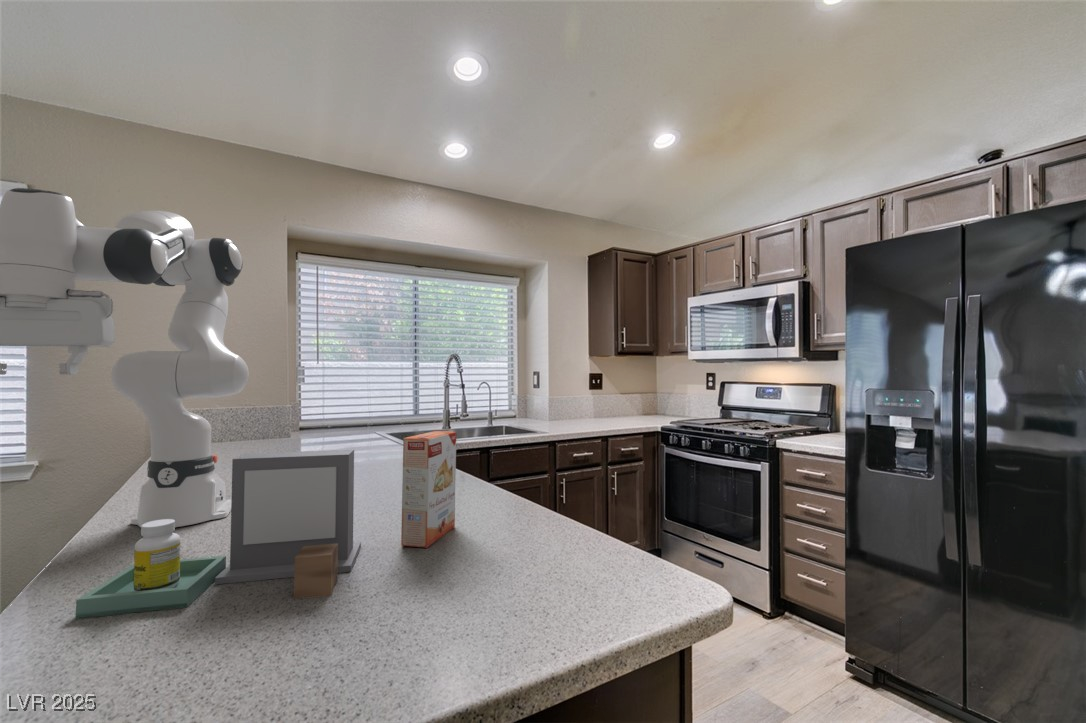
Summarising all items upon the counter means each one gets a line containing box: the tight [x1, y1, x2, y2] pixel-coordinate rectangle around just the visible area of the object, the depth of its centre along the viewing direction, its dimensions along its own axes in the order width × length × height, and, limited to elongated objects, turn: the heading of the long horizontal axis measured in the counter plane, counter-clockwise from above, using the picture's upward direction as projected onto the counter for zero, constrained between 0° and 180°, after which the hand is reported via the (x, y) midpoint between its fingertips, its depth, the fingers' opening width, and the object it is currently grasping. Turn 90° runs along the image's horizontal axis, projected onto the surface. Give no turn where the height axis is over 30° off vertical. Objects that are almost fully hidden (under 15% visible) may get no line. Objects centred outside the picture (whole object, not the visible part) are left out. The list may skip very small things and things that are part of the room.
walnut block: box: [293, 543, 338, 600], centre depth 71 cm, size 5×5×6 cm
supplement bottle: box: [133, 519, 181, 592], centre depth 71 cm, size 5×5×10 cm
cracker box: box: [400, 430, 457, 549], centre depth 96 cm, size 14×6×21 cm, turn 168°
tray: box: [75, 555, 227, 620], centre depth 71 cm, size 13×13×2 cm
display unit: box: [214, 449, 362, 585], centre depth 82 cm, size 12×20×19 cm, turn 104°
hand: (32, 374), depth 75 cm, fingers open, 8 cm apart
